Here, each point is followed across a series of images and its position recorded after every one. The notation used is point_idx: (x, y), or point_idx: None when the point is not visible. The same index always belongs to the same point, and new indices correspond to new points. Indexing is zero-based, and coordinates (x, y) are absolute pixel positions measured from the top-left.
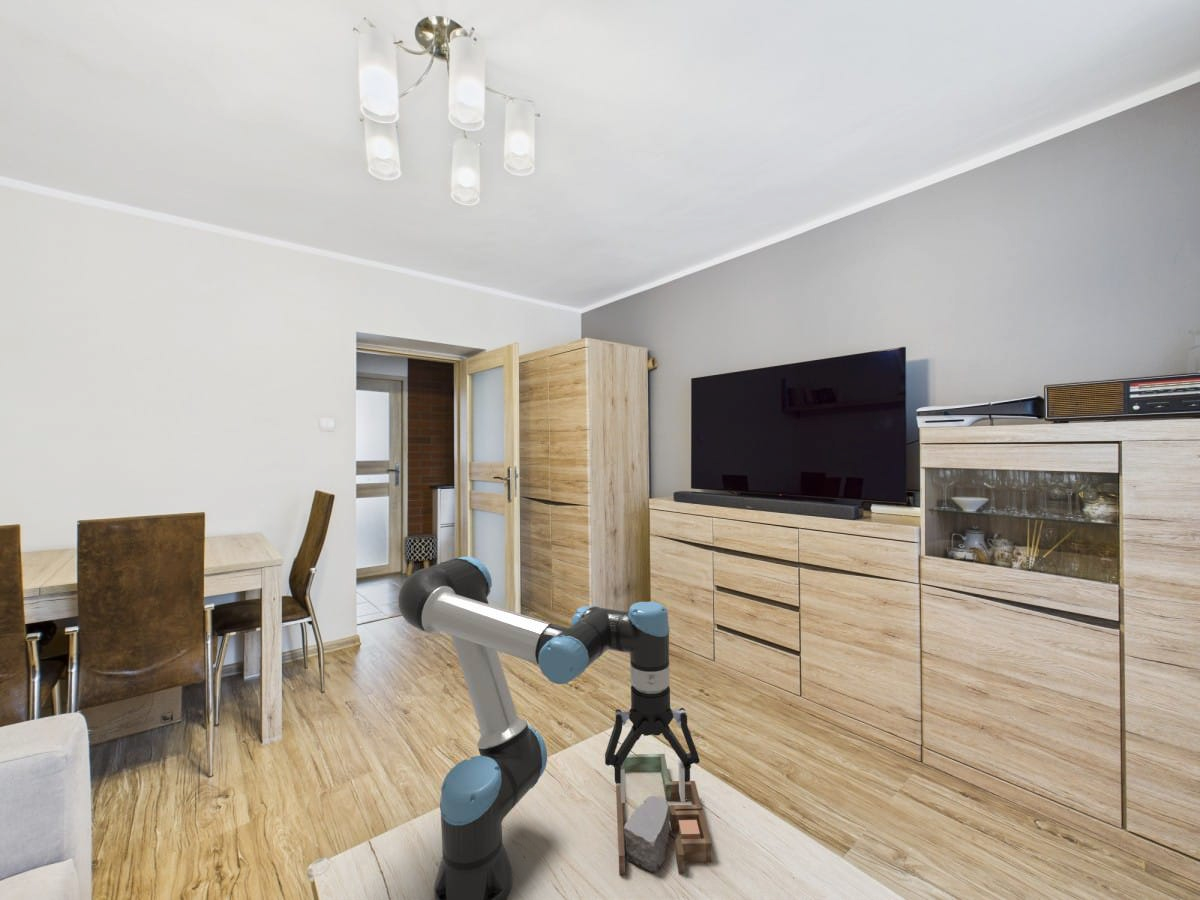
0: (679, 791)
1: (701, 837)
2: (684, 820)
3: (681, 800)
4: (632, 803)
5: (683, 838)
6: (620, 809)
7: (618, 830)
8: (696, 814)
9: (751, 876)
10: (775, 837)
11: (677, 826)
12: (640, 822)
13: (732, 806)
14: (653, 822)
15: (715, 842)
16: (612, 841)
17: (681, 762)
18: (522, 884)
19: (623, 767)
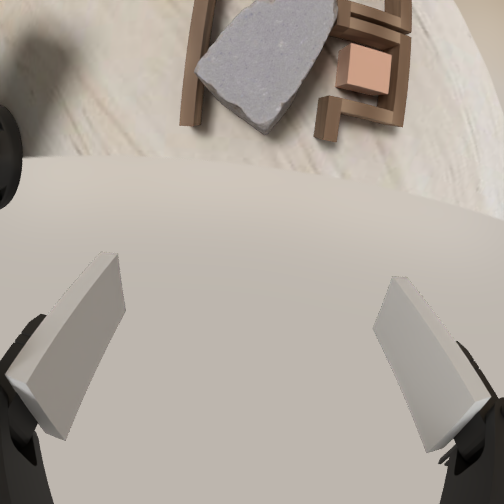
0: (392, 297)
1: None
2: (364, 48)
3: (375, 331)
4: None
5: (348, 85)
6: None
7: (188, 51)
8: (395, 42)
9: (432, 171)
10: (489, 114)
11: (342, 35)
12: (244, 57)
13: (454, 25)
14: (281, 61)
15: None
16: (185, 41)
17: (467, 418)
18: (34, 146)
19: (53, 430)
